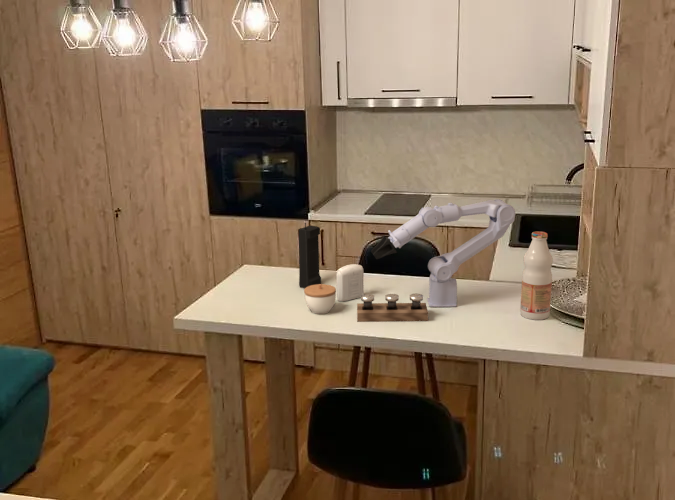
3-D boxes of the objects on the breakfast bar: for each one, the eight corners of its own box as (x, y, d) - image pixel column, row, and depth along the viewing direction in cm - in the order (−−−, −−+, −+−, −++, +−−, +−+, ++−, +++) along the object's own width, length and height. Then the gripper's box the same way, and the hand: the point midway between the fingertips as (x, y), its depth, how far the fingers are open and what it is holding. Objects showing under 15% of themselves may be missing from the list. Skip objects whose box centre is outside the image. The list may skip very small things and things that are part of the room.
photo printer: (358, 293, 263) (358, 261, 259) (365, 296, 259) (365, 263, 256) (334, 299, 257) (334, 266, 254) (341, 302, 254) (341, 269, 250)
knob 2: (422, 305, 241) (422, 293, 240) (423, 310, 237) (423, 297, 236) (409, 305, 241) (409, 293, 240) (410, 310, 237) (410, 298, 236)
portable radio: (310, 281, 277) (308, 217, 270) (323, 284, 273) (321, 219, 266) (297, 287, 271) (295, 222, 264) (310, 290, 267) (308, 224, 260)
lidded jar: (337, 305, 252) (336, 279, 249) (335, 316, 241) (334, 289, 239) (306, 305, 252) (305, 279, 250) (303, 316, 242) (302, 289, 239)
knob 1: (374, 306, 242) (374, 293, 241) (374, 311, 238) (374, 298, 236) (361, 306, 242) (360, 293, 241) (361, 311, 238) (361, 298, 237)
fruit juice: (515, 316, 238) (519, 234, 230) (526, 308, 245) (531, 228, 237) (543, 322, 233) (548, 238, 225) (553, 313, 240) (559, 231, 232)
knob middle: (398, 306, 242) (398, 293, 240) (399, 310, 237) (399, 298, 236) (385, 306, 242) (385, 293, 241) (385, 310, 238) (385, 298, 236)
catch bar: (425, 311, 244) (425, 302, 243) (427, 321, 236) (428, 312, 235) (357, 311, 245) (357, 303, 244) (357, 321, 236) (357, 313, 236)
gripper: (397, 220, 249) (365, 243, 250) (403, 224, 235) (368, 248, 235) (409, 237, 250) (376, 259, 250) (415, 242, 236) (381, 265, 236)
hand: (373, 255), depth 243 cm, fingers open, 7 cm apart
